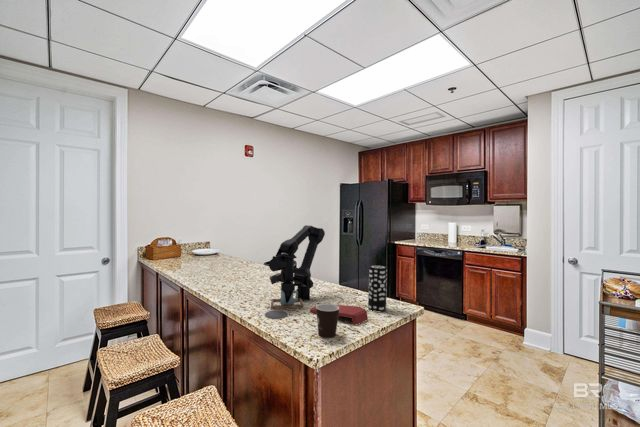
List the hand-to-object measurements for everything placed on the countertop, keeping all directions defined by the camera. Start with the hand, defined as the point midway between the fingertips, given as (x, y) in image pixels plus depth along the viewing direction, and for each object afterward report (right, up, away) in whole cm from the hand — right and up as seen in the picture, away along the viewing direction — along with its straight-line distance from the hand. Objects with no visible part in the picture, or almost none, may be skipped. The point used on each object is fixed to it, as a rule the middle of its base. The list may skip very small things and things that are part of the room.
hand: (286, 300), depth 144 cm
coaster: (-3, -2, -15) cm, 15 cm away
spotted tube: (+43, -3, -4) cm, 43 cm away
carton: (+24, -3, -13) cm, 27 cm away
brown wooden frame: (0, -2, 0) cm, 2 cm away
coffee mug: (+19, -3, -33) cm, 38 cm away
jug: (+1, -2, 0) cm, 2 cm away
